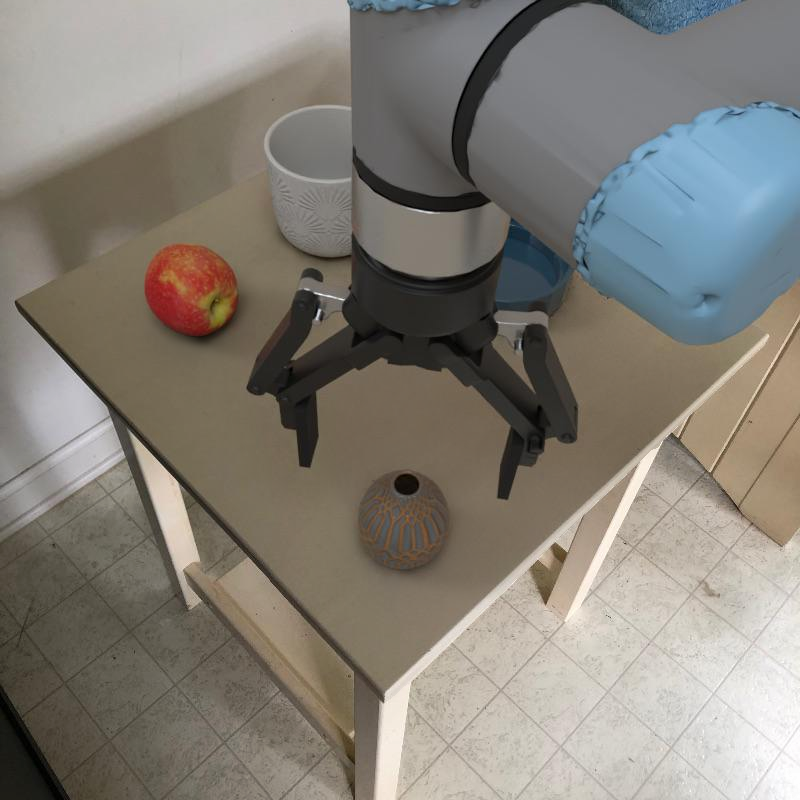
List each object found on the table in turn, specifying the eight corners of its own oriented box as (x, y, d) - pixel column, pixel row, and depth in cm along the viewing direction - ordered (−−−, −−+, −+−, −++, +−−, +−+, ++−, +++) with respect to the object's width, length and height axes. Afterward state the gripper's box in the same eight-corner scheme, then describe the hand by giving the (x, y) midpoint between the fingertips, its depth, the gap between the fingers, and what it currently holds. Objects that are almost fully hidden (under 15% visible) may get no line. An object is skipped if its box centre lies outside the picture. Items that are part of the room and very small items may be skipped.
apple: (193, 364, 75) (178, 303, 69) (135, 318, 78) (115, 256, 72) (257, 317, 79) (248, 255, 73) (199, 275, 82) (186, 212, 76)
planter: (409, 251, 86) (415, 163, 77) (297, 283, 82) (290, 195, 73) (363, 181, 92) (363, 93, 84) (257, 208, 89) (246, 119, 80)
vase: (414, 490, 68) (420, 428, 61) (462, 555, 65) (474, 497, 58) (341, 528, 66) (339, 469, 59) (387, 598, 62) (391, 543, 55)
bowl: (564, 340, 79) (573, 311, 76) (419, 319, 80) (422, 290, 77) (569, 243, 87) (577, 213, 84) (438, 225, 88) (441, 195, 85)
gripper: (684, 216, 41) (588, 450, 58) (201, 149, 43) (244, 396, 60) (692, 325, 37) (585, 544, 54) (152, 245, 38) (213, 483, 55)
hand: (405, 467), depth 57 cm, fingers open, 13 cm apart
